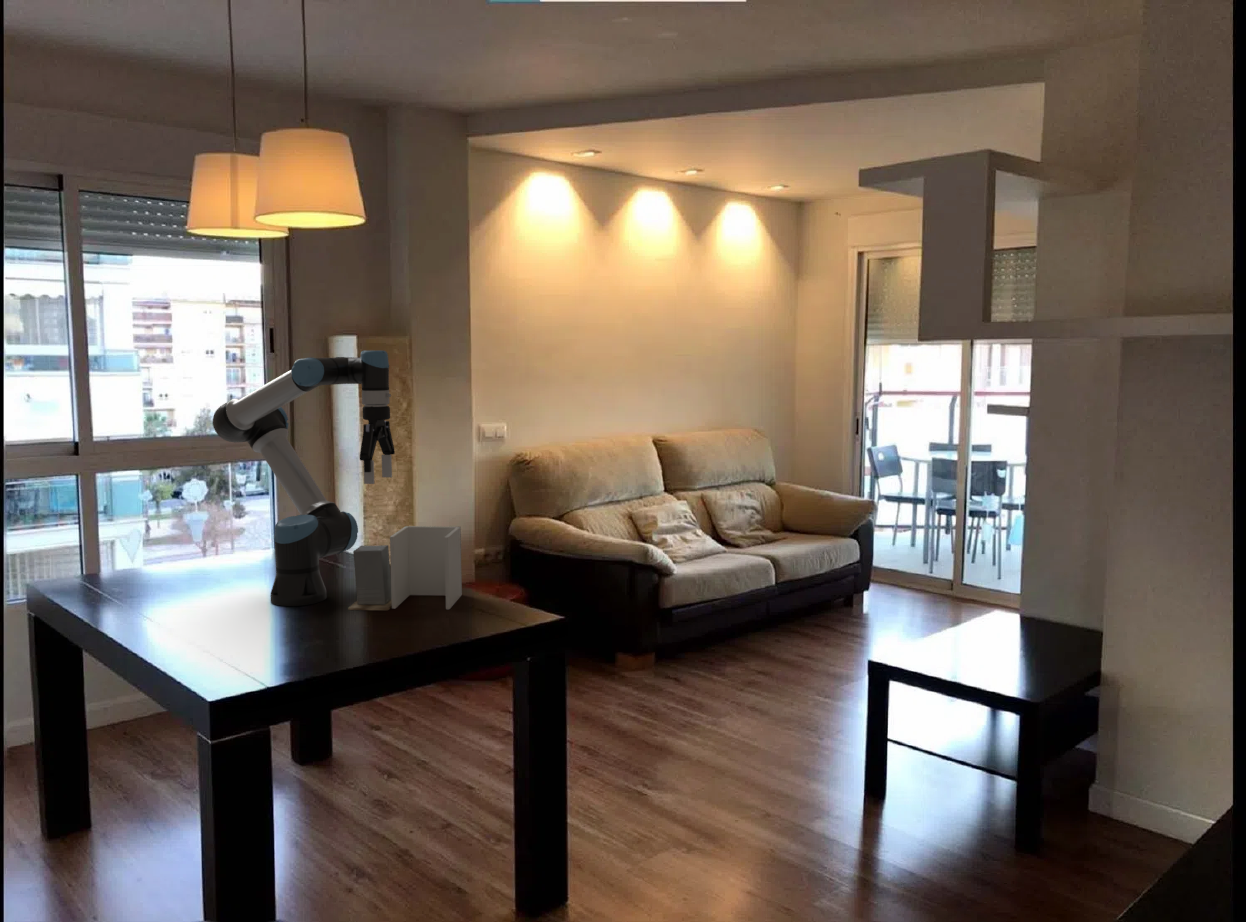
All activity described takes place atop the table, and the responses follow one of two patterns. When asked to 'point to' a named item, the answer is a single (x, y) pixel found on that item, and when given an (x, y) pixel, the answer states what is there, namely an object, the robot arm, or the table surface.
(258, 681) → the table surface
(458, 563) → the shelf bay
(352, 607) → the cork coaster
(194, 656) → the table surface
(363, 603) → the skincare box
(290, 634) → the table surface
